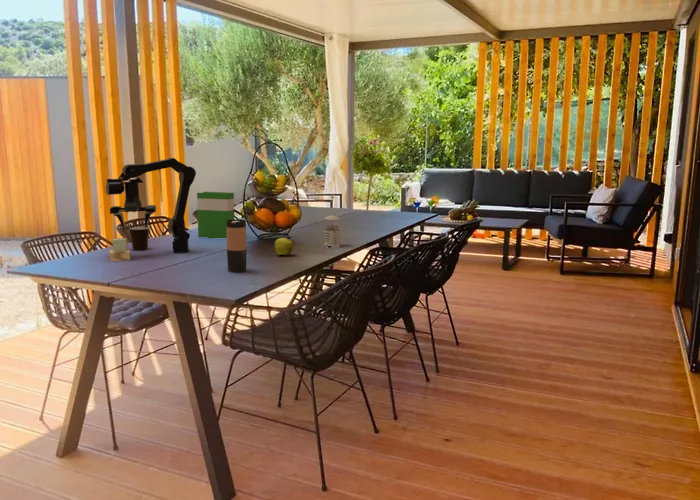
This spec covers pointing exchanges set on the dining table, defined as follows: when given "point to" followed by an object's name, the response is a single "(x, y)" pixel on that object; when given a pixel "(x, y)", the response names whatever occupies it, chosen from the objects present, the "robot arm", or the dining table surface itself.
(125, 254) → the oak block
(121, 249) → the yellow cube
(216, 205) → the cereal box
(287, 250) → the apple
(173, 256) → the dining table surface
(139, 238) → the coffee mug
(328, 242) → the french press
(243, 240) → the travel mug
